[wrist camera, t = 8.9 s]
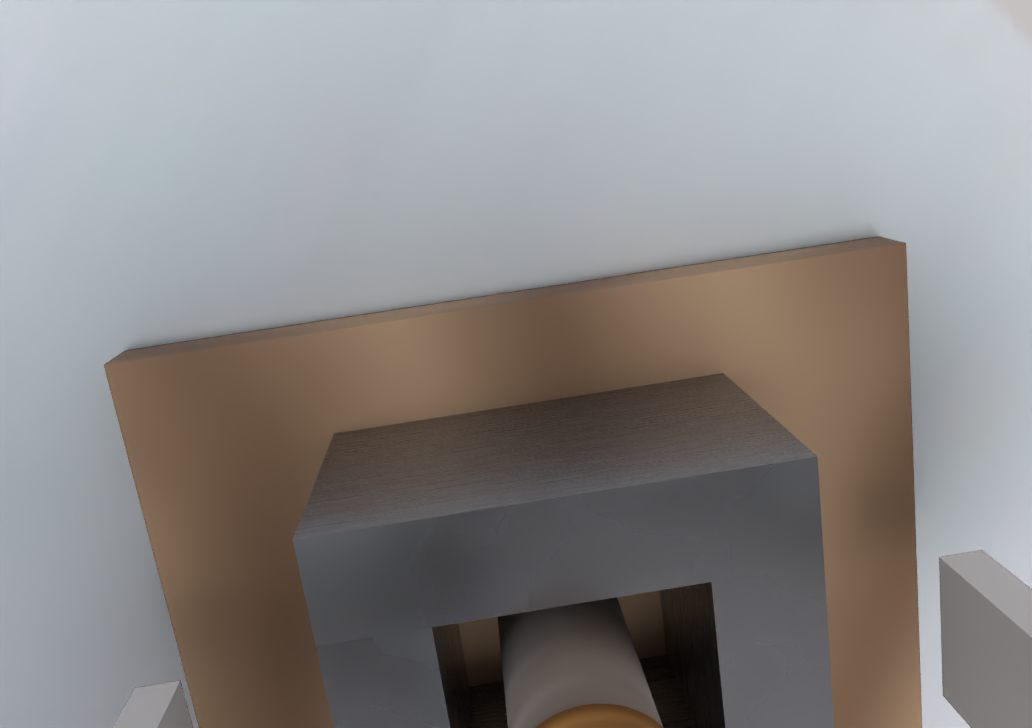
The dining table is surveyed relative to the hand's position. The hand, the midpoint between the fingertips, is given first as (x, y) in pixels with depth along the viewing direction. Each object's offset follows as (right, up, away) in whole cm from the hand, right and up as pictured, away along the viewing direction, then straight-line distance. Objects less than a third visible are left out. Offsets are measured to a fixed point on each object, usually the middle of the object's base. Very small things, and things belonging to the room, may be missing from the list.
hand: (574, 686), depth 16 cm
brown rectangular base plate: (0, +1, +5) cm, 5 cm away
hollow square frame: (0, +1, +4) cm, 4 cm away
